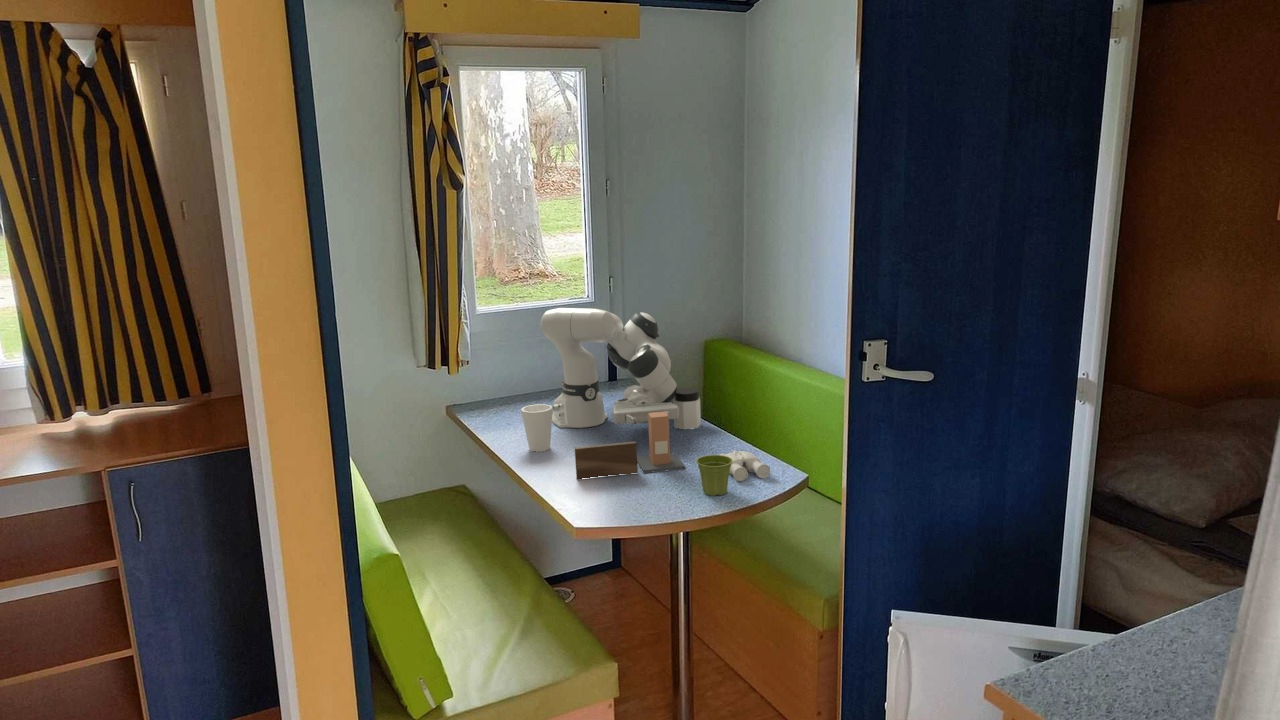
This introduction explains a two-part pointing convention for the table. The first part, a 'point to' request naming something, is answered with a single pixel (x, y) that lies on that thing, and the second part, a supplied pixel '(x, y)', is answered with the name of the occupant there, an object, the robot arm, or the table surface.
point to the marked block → (659, 438)
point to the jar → (687, 408)
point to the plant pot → (714, 473)
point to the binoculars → (746, 465)
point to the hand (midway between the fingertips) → (649, 420)
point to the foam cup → (538, 426)
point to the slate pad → (649, 467)
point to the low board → (606, 460)
